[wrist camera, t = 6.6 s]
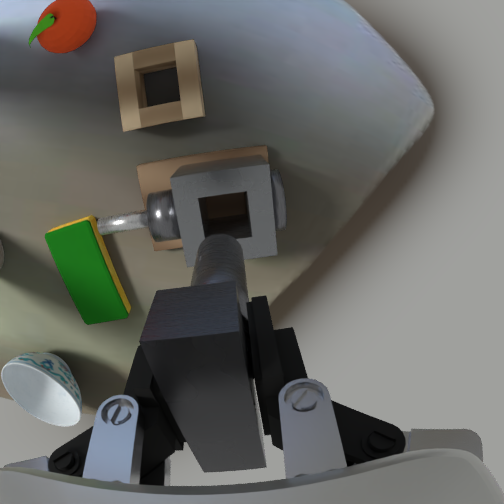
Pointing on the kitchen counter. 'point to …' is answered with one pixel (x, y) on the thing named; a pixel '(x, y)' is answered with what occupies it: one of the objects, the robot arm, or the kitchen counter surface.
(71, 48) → the clementine
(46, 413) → the chinaware
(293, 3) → the kitchen counter surface
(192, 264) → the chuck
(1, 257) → the thermos bottle
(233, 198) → the board
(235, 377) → the chuck key
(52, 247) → the dish sponge
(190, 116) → the wooden square frame
